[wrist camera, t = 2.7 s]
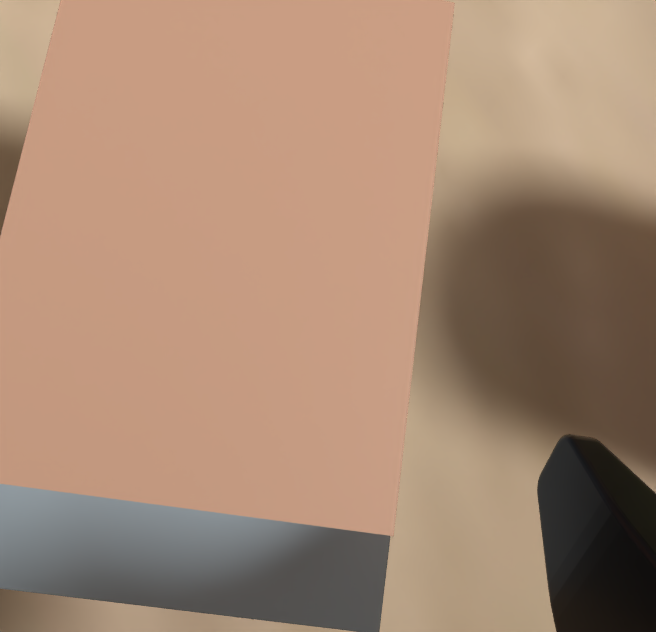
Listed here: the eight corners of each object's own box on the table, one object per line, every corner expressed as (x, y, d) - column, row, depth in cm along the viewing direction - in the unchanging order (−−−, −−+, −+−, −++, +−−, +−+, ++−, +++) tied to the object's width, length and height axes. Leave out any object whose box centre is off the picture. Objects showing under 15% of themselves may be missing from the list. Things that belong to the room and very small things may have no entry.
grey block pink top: (326, 547, 17) (489, 823, 5) (111, 519, 16) (-284, 748, 4) (369, 225, 18) (566, -145, 7) (177, 191, 18) (19, -267, 6)
